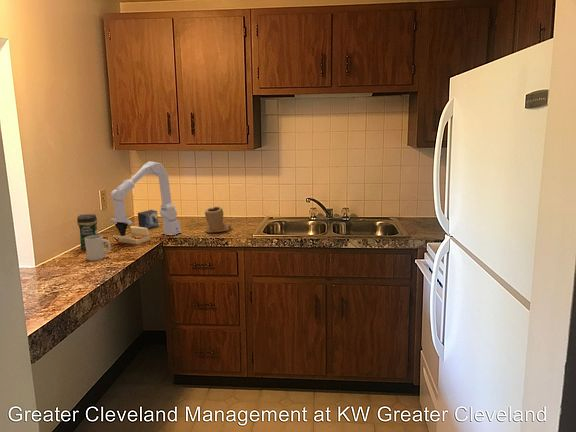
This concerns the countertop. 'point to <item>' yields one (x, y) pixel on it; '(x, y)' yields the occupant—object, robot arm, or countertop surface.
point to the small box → (148, 219)
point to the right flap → (140, 230)
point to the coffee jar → (87, 227)
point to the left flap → (124, 237)
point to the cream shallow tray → (136, 241)
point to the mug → (96, 247)
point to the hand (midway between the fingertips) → (123, 235)
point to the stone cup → (216, 220)
